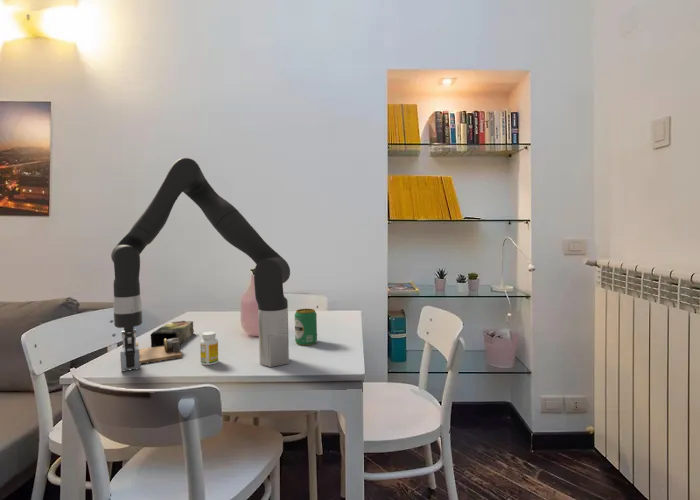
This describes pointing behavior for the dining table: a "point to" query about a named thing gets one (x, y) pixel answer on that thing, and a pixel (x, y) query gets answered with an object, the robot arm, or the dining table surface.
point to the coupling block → (123, 358)
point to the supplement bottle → (209, 348)
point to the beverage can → (305, 327)
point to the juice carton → (173, 331)
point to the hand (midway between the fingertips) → (130, 364)
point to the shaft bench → (161, 351)
